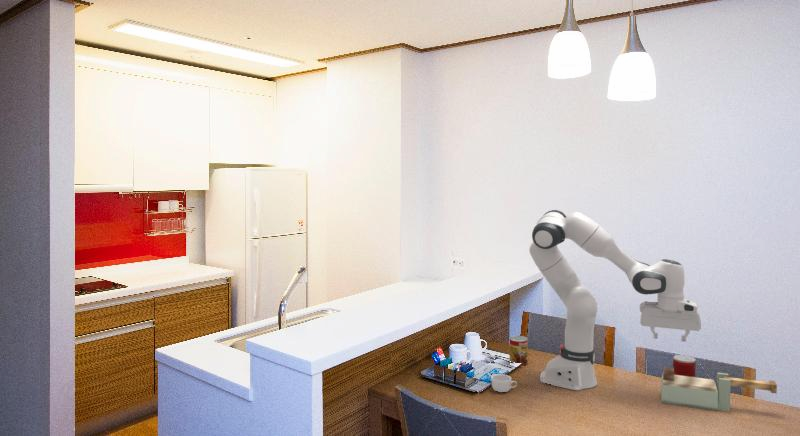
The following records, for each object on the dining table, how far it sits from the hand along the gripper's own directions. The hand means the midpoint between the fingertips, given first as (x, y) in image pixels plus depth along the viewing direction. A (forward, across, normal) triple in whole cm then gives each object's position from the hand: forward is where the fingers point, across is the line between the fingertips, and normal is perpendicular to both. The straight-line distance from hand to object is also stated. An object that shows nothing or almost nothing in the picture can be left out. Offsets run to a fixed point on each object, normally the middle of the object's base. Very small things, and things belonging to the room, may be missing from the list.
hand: (669, 339), depth 203 cm
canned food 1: (+23, -60, +16) cm, 66 cm away
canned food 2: (+23, +6, +18) cm, 30 cm away
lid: (+16, +7, 0) cm, 17 cm away
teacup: (+23, -59, -16) cm, 65 cm away
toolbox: (+23, +9, 0) cm, 25 cm away
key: (+15, +26, 0) cm, 30 cm away
